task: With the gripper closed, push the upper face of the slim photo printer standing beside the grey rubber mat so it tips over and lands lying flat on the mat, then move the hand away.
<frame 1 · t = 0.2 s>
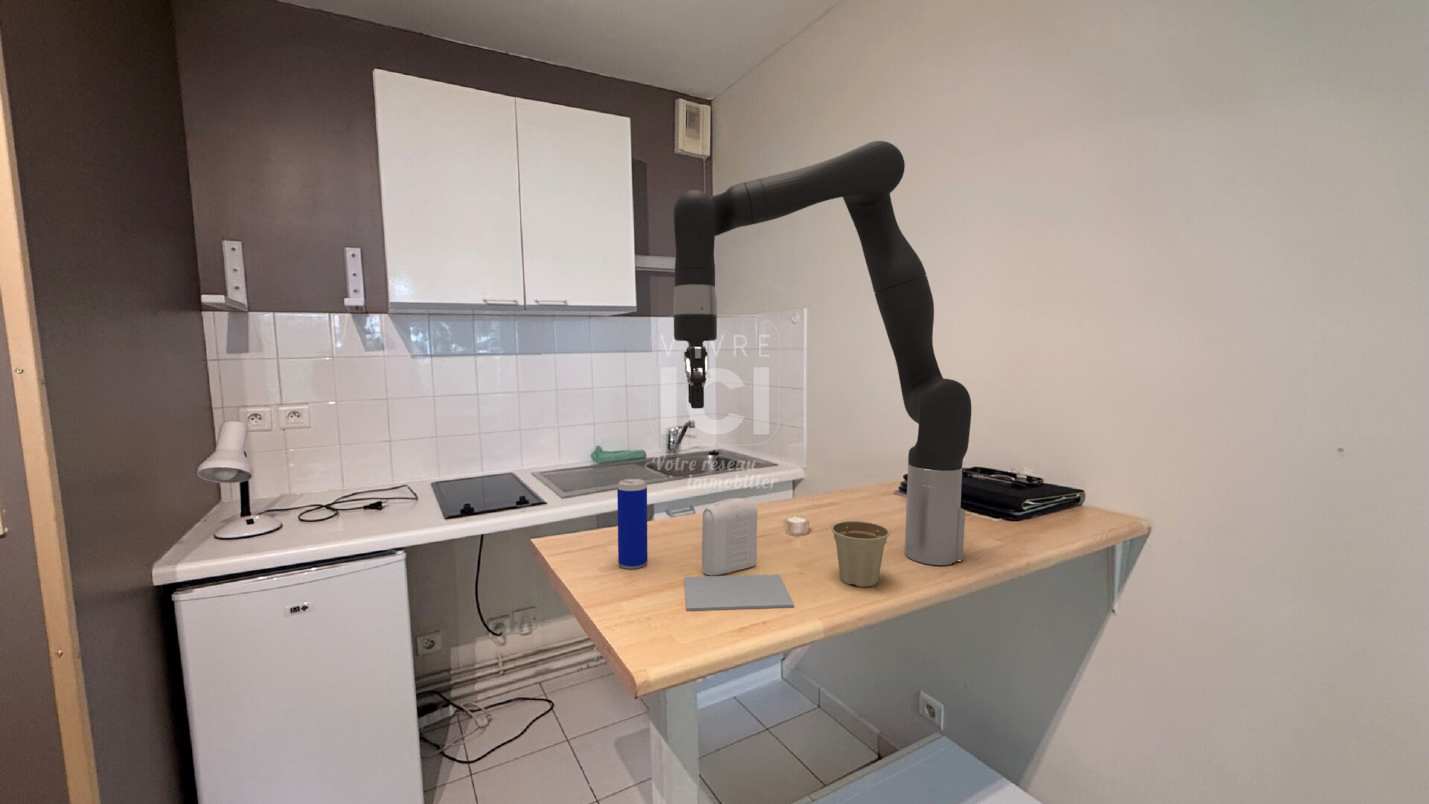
hand: (695, 405, 96), 28 cm above the worktop, tool pointing down, fingers open, 8 cm apart
mat: (736, 592, 85), on the worktop
flower pot: (858, 580, 90), on the worktop
beverage can: (633, 565, 96), on the worktop
photo printer: (729, 569, 94), on the worktop
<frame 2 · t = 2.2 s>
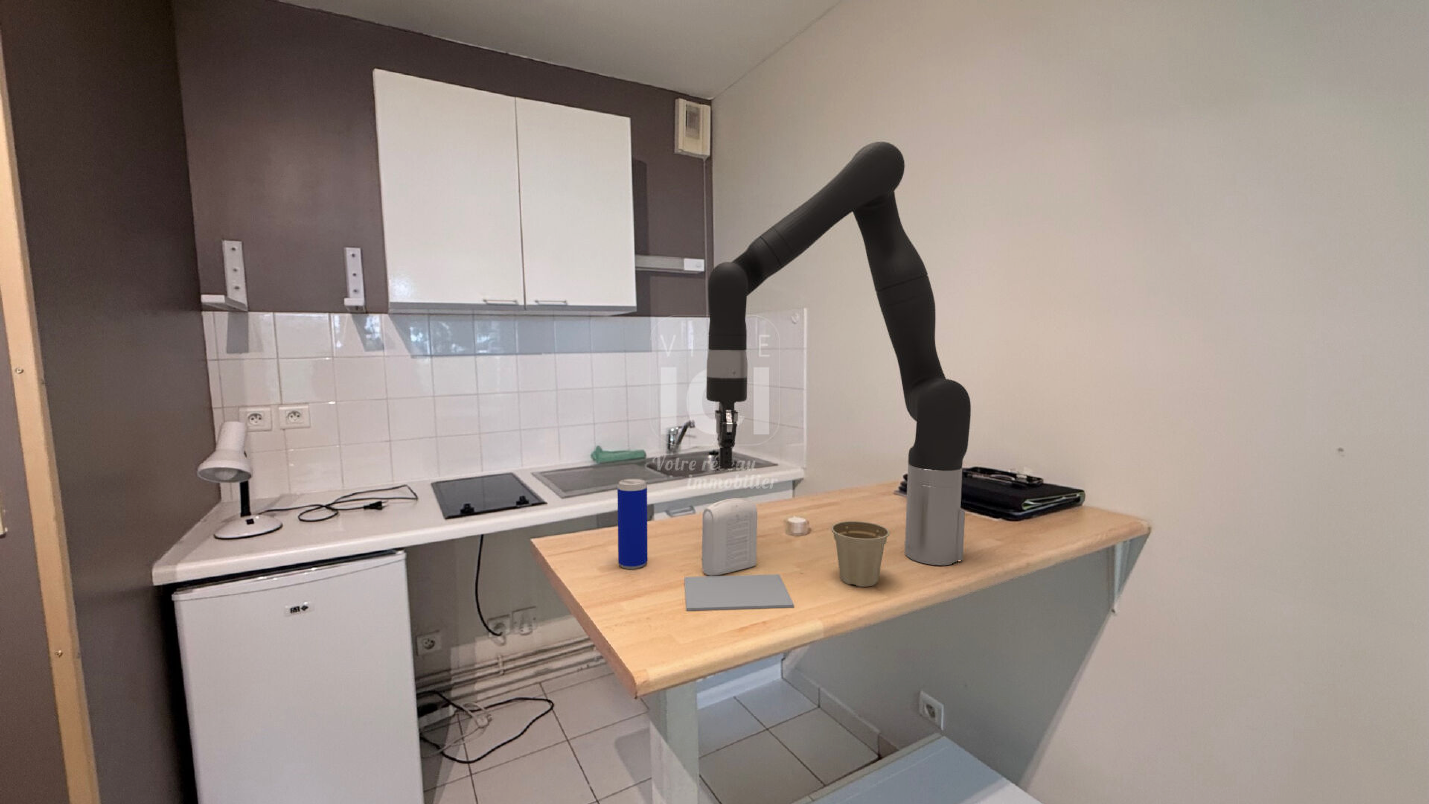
hand: (725, 467, 101), 16 cm above the worktop, tool pointing down, fingers closed
nothing on the worktop moved.
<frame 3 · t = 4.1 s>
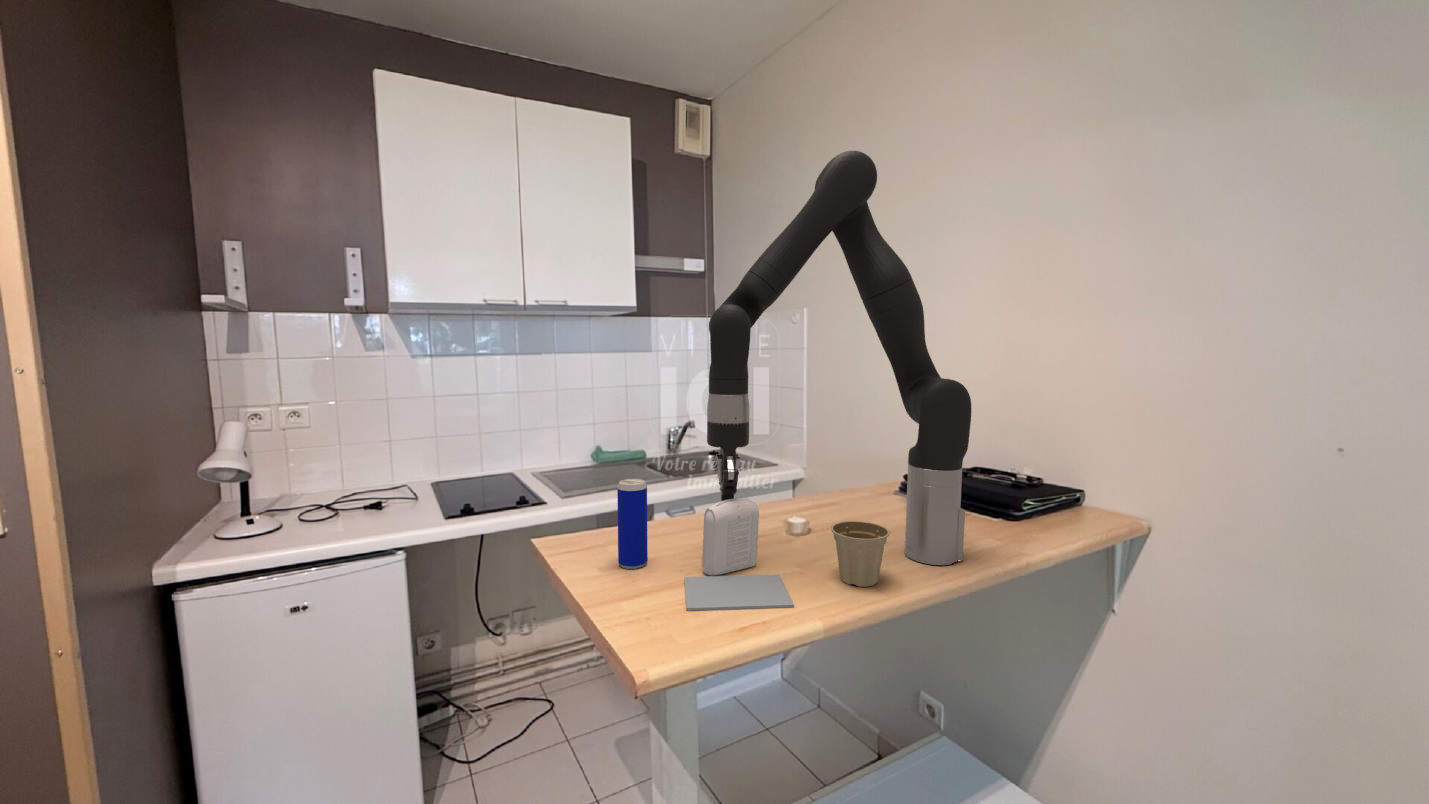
hand: (727, 513, 98), 9 cm above the worktop, tool pointing down, fingers closed
photo printer: (729, 569, 94), on the worktop, touching gripper
everything else where it was.
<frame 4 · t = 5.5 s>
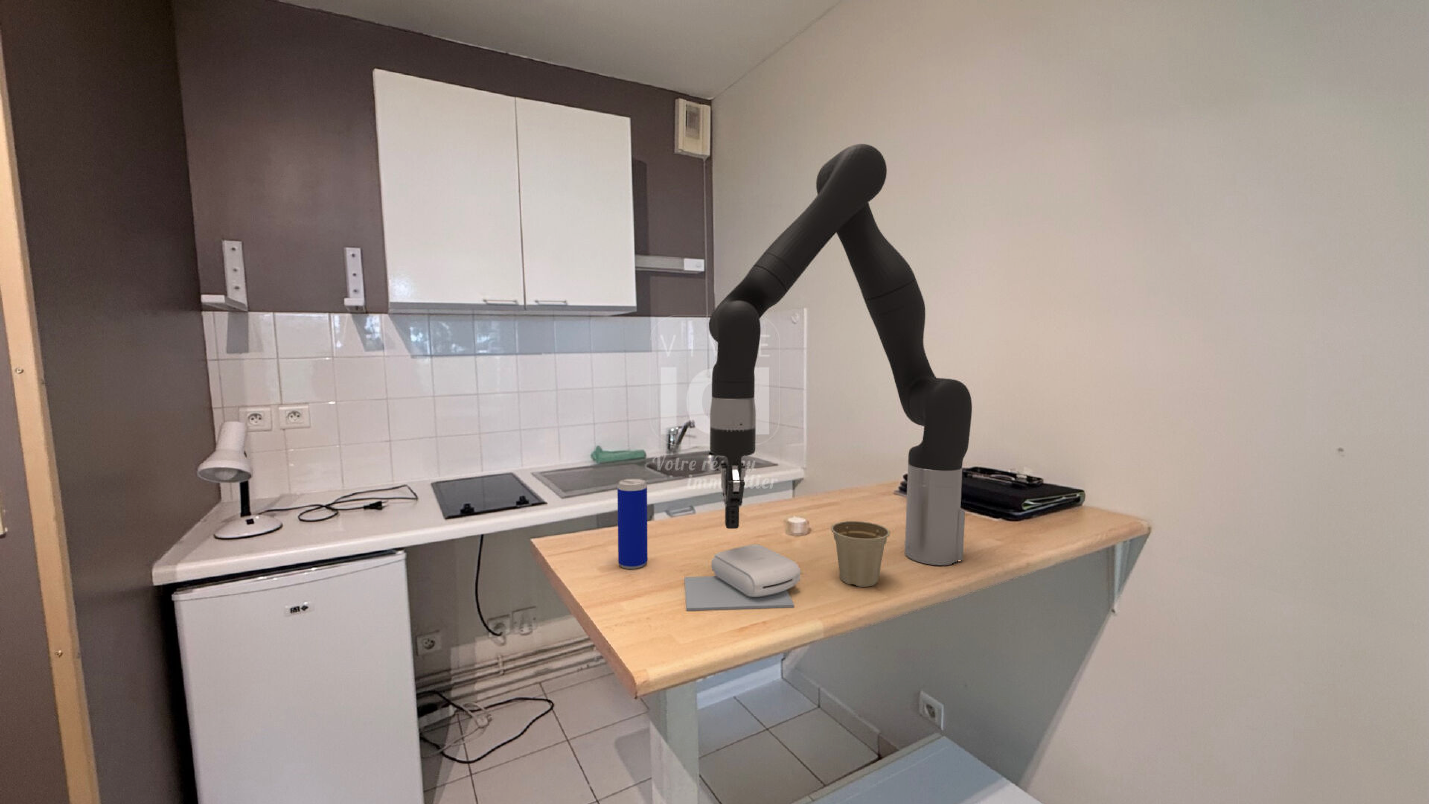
hand: (731, 527, 90), 9 cm above the worktop, tool pointing down, fingers closed
photo printer: (734, 557, 93), point 3 cm above the worktop, touching mat
everything else where it was.
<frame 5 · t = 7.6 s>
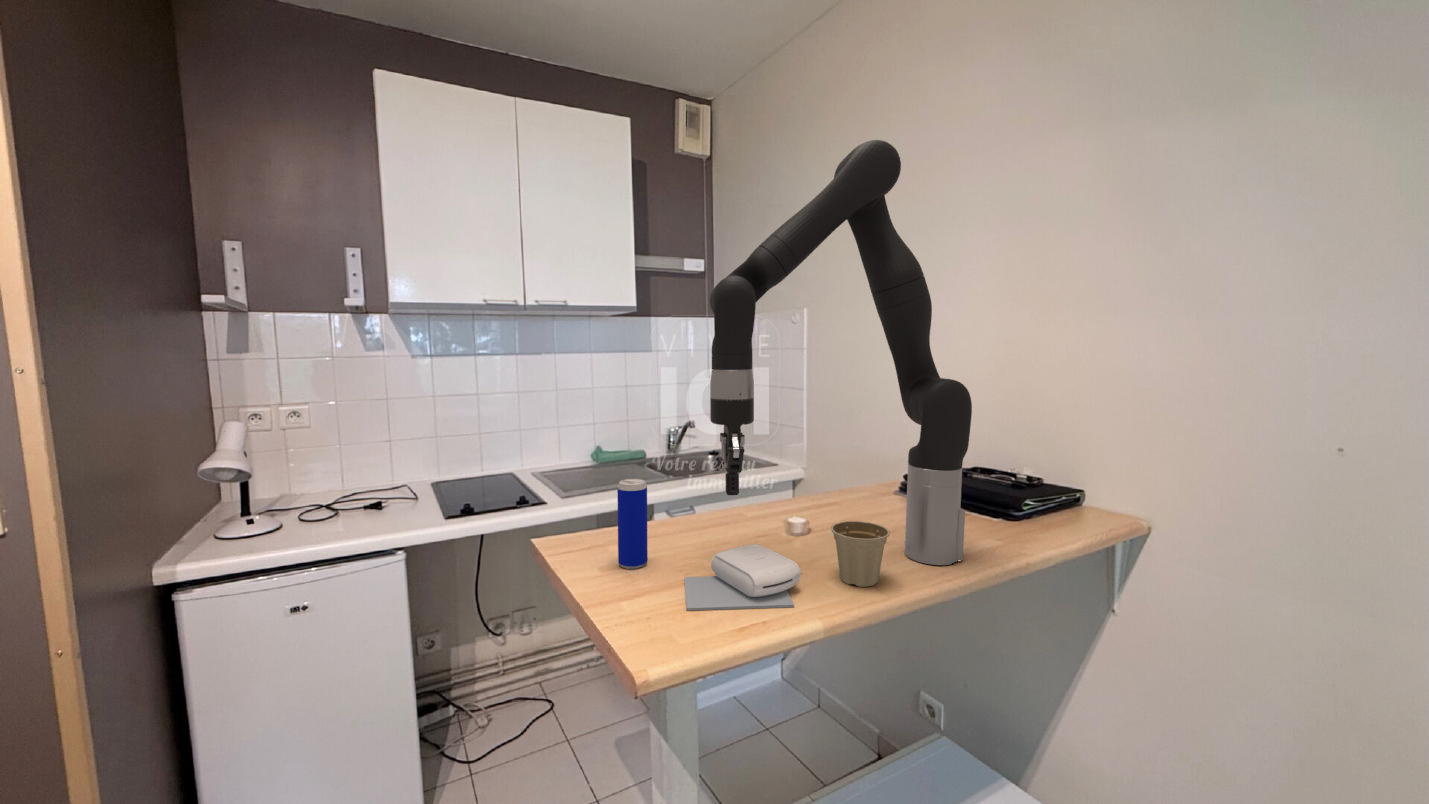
hand: (732, 494, 95), 13 cm above the worktop, tool pointing down, fingers closed
nothing on the worktop moved.
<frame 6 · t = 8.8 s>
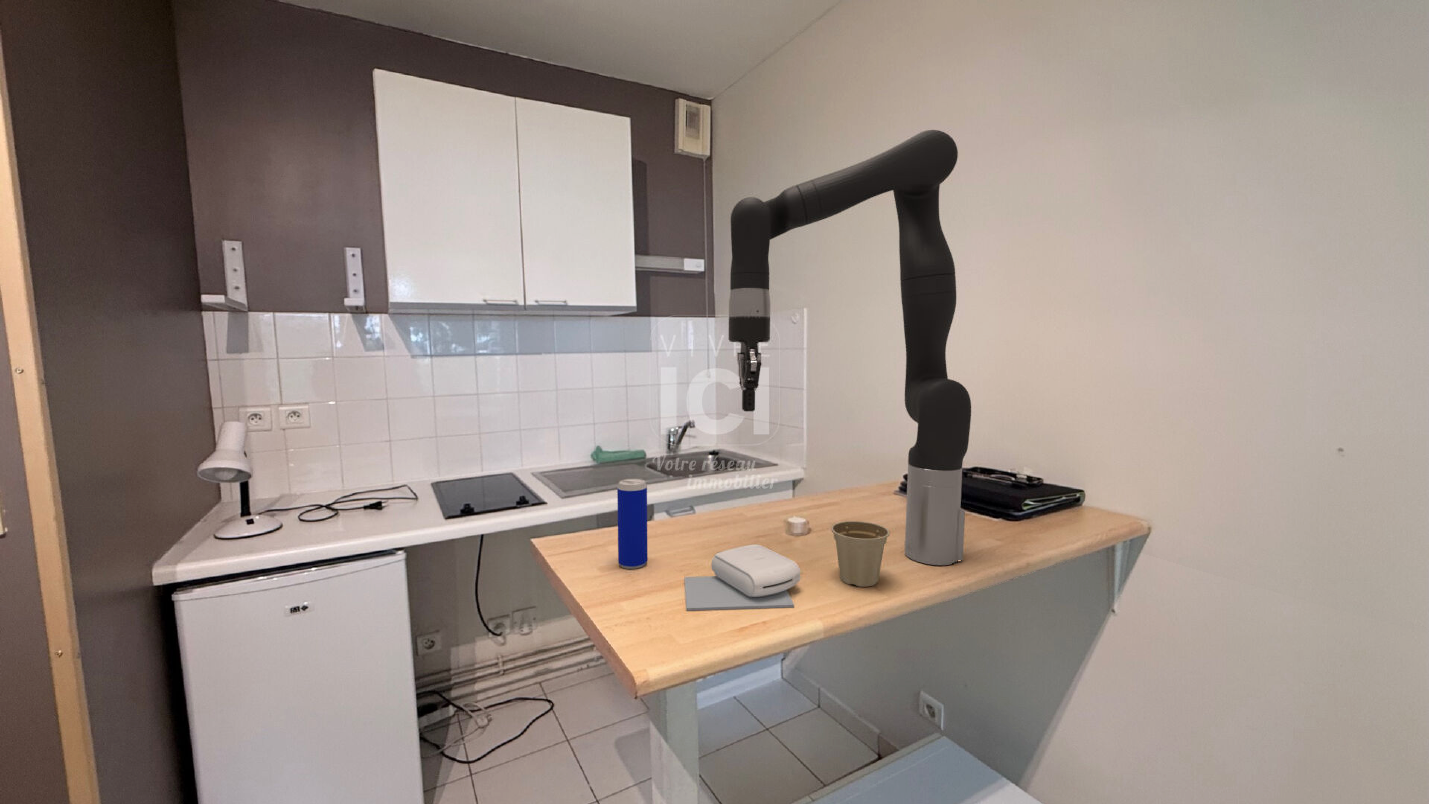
hand: (748, 410, 99), 27 cm above the worktop, tool pointing down, fingers closed
nothing on the worktop moved.
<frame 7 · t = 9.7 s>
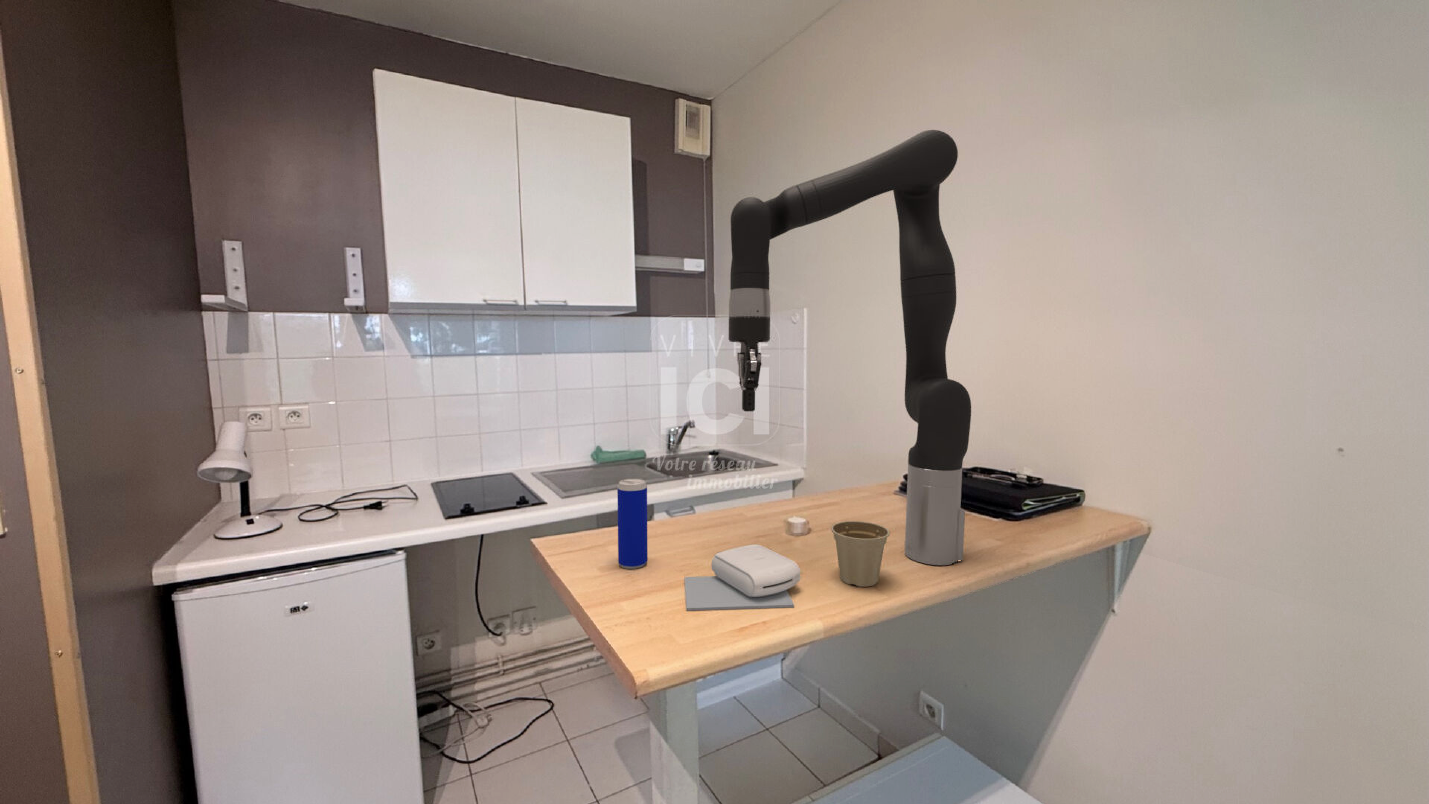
hand: (748, 410, 99), 27 cm above the worktop, tool pointing down, fingers closed
nothing on the worktop moved.
at the end: photo printer tilted 90°; photo printer inside the target area (8.7 cm from its centre), point 2.5 cm above the worktop; the gripper is holding nothing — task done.
